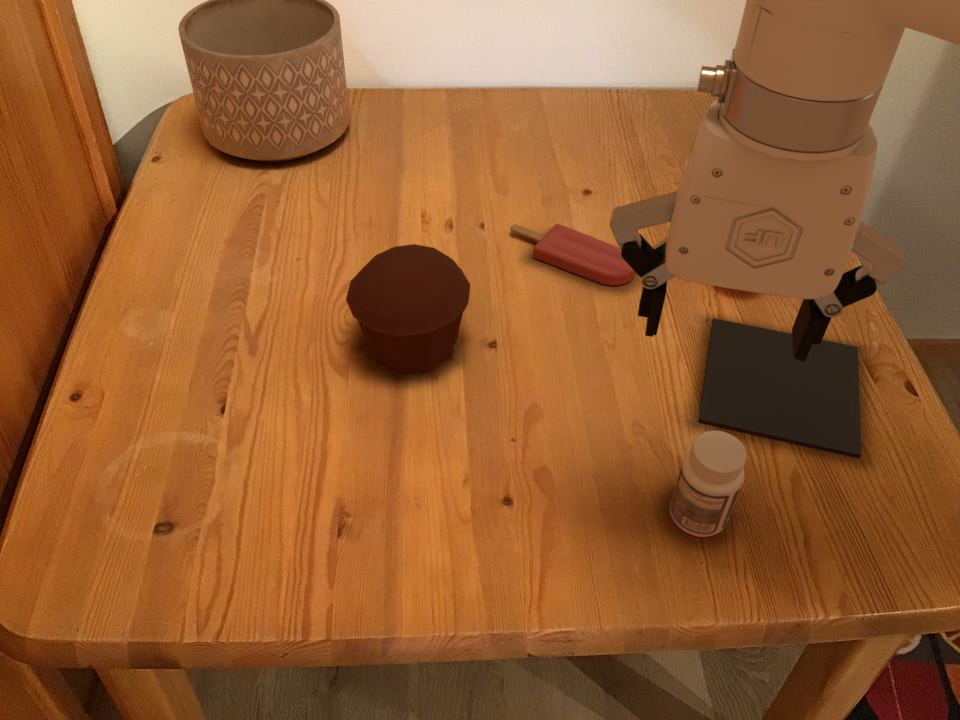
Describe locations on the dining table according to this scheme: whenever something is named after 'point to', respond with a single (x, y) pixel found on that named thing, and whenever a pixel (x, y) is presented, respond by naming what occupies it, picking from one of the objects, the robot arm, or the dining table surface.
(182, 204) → the dining table surface
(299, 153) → the planter
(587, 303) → the dining table surface
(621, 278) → the popsicle
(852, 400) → the slate mat
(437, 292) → the muffin
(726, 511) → the pill bottle
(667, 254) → the robot arm
